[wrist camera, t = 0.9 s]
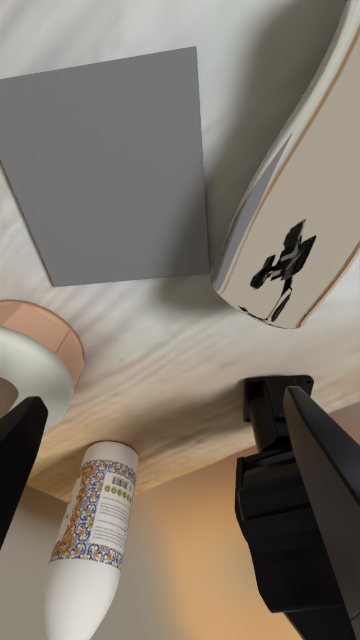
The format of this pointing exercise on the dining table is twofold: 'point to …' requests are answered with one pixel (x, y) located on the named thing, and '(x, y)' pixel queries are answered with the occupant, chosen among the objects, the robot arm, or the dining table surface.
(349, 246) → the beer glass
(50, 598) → the bath foam
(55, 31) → the dining table surface
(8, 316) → the bowl
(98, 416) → the dining table surface
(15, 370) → the lid
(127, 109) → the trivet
